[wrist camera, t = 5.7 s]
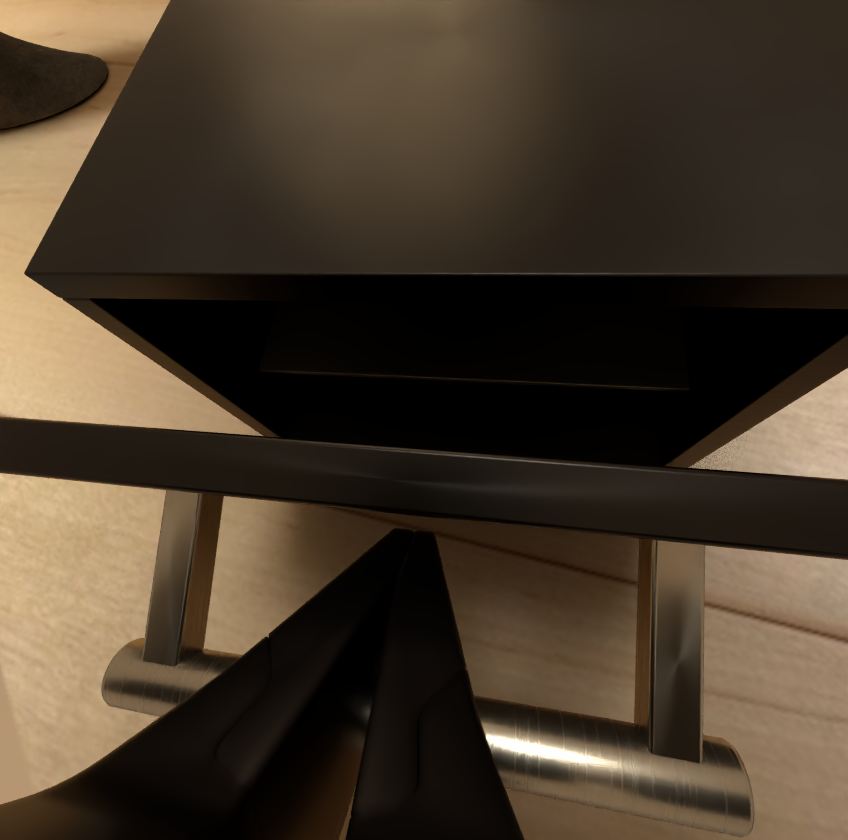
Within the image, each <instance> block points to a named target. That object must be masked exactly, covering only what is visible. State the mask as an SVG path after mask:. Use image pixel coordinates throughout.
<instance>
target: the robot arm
mask: <svg viewBox="0 0 848 840" xmlns="http://www.w3.org/2000/svg"><path fill="white" fill-rule="evenodd" d="M356 783H357V784H356ZM355 786H356V789H355ZM354 790H355V794H354V799H353V805H352V810H351V818H350V821H349V826H348V831H347V836H346V840H524V838H523V835H522V832H521V830H520V827H519V824H518V822H517V819H516V816H515V814H514V811H513V809H512V806H511V803H510V801H509V798H508V795H507V793H506V790H505V788H504V785H503V782H502V780H501V777H500V774H499V772H498V769H497V767H496V764H495V761H494V759H493V756H492V753H491V750H490V747H489V744H488V741H487V738H486V735H485V732H484V729H483V726H482V724H481V720H480V717H479V713H478V709H477V706H476V702H475V698H474V695H473V691H472V687H471V683H470V679H469V674H468V671H467V670H466V663H465V658H464V654H463V650H462V646H461V642H460V637H459V633H458V629H457V625H456V621H455V616H454V612H453V608H452V604H451V600H450V595H449V591H448V587H447V583H446V579H445V574H444V570H443V566H442V562H441V558H440V553H439V549H438V545H437V541H436V536H435V534H434V533H433V532H428V531H419V530H417V531H415V532H414V531H413V530H410V529H401V528H395V529H393V530H391V531H390V532H389V533H388V534H387V535H386V536H384V537H383V538H382V539H381V540H380V541H378V542H377V543H376V544H375V545H374V546H373V547H371V548H370V549H369V550H368V551H367V552H365V553H364V554H363V555H362V556H361V557H359V558H358V559H357V560H356V561H355V562H354V563H352V564H351V565H350V566H349V567H348V568H346V569H345V570H344V571H343V572H342V573H341V574H339V575H338V576H337V577H336V578H335V579H333V580H332V581H331V582H330V583H329V584H327V585H326V586H325V587H324V588H323V589H322V590H320V591H319V592H318V593H317V594H316V595H314V596H313V597H312V598H311V599H310V600H309V601H307V602H306V603H305V604H304V605H303V606H301V607H300V608H299V609H298V610H297V611H295V612H294V613H293V614H292V615H291V616H290V617H288V618H287V619H286V620H285V621H284V622H282V623H281V624H280V625H279V626H278V627H276V628H275V629H274V630H273V631H272V632H271V633H270V634H269V638H268V637H264V638H263V639H262V640H261V641H260V642H258V643H257V644H256V645H255V646H254V647H253V648H251V649H250V650H249V651H248V652H247V653H245V654H244V655H243V656H242V657H240V658H239V659H238V660H237V661H235V662H234V663H233V664H232V665H230V666H229V667H228V668H227V669H225V670H224V671H223V672H222V673H220V674H219V675H218V676H216V677H215V678H214V679H212V680H211V681H210V682H208V683H207V684H206V685H204V686H203V687H201V688H200V689H199V690H197V691H196V692H195V693H193V694H192V695H191V696H189V697H188V698H187V699H185V700H184V701H182V702H181V703H180V704H178V705H177V706H175V707H174V708H172V709H171V710H170V711H168V712H167V713H165V714H164V715H163V716H161V717H160V718H158V719H157V720H156V721H154V722H153V723H151V724H150V725H149V726H147V727H146V728H144V729H143V730H142V731H140V732H139V733H137V734H136V735H134V736H133V737H132V738H130V739H129V740H127V741H126V742H125V743H123V744H122V745H120V746H119V747H118V748H116V749H115V750H113V751H112V752H111V753H109V754H108V755H106V756H105V757H103V758H102V759H100V760H99V761H97V762H96V763H94V764H93V765H91V766H90V767H88V768H87V769H85V770H83V771H82V772H80V773H78V774H76V775H75V776H73V777H71V778H69V779H67V780H65V781H63V782H61V783H59V784H57V785H55V786H53V787H51V788H48V789H46V790H43V791H41V792H39V793H36V794H33V795H30V796H27V797H24V798H21V799H18V800H14V801H11V802H8V803H4V804H1V805H0V840H339V837H340V834H341V830H342V827H343V824H344V821H345V818H346V815H347V812H348V808H349V805H350V802H351V799H352V796H353V793H354Z"/></svg>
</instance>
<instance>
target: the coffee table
mask: <svg viewBox="0 0 848 840" xmlns="http://www.w3.org/2000/svg"><path fill="white" fill-rule="evenodd" d="M106 76H107V66H106V64H105V62H104V61H103V60H101V59H100V58H98V57H95V56H92V55H89V54H82V53H74V52H68V51H63V50H58V49H53V48H49V47H44V46H40V45H37V44H33V43H30V42H26V41H23V40H20V39H17V38H14V37H11V36H9V35H6V34H4V33H2V32H0V129H3V128H8V127H14V126H18V125H22V124H26V123H30V122H33V121H36V120H39V119H42V118H46V117H48V116H51V115H53V114H56V113H58V112H61V111H63V110H65V109H67V108H69V107H71V106H73V105H75V104H77V103H79V102H81V101H82V100H84V99H85V98H87V97H88V96H90V95H91V94H92V93H93V92H94V91H96V90H97V89H98V88H99V87H100V85H101V84H102V83H103V82H104V80H105V78H106Z"/></svg>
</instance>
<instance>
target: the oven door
mask: <svg viewBox="0 0 848 840" xmlns="http://www.w3.org/2000/svg"><path fill="white" fill-rule="evenodd" d="M0 473H6V474H15V475H25V476H35V477H45V478H54V479H64V480H74V481H84V482H93V483H103V484H113V485H123V486H132V487H142V488H152V489H162V490H166V496H165V503H164V510H163V517H162V523H161V530H160V537H159V544H158V551H157V558H156V564H155V571H154V578H153V585H152V592H151V598H150V605H149V612H148V619H147V626H146V633H145V638H140V639H136V640H134V641H131V642H129V643H128V644H126V645H125V646H124V647H122V648H121V649H120V650H119V652H118V653H117V654H116V655H115V656H114V658H113V659H112V661H111V662H110V664H109V666H108V668H107V670H106V672H105V675H104V678H103V682H102V697H103V699H104V701H105V702H106V703H107V704H108V705H109V706H111V707H115V708H120V709H125V710H130V711H135V712H140V713H144V714H149V715H154V716H159V717H161V716H163V715H164V714H165V713H167V712H168V711H170V710H171V709H172V708H174V707H175V706H177V705H178V704H180V703H181V702H182V701H184V700H185V699H187V698H188V697H189V696H191V695H192V694H193V693H195V692H196V691H197V690H199V689H200V688H201V687H203V686H204V685H206V684H207V683H208V682H210V681H211V680H212V679H214V678H215V677H216V676H218V675H219V674H220V673H222V672H223V671H224V670H225V669H227V668H228V667H229V666H230V665H232V664H233V663H234V662H235V661H237V660H238V659H239V658H240V657H242V656H243V655H237V654H232V653H226V652H220V651H214V650H208V649H204V641H205V634H206V626H207V619H208V611H209V604H210V596H211V588H212V581H213V573H214V566H215V558H216V551H217V543H218V535H219V528H220V520H221V513H222V505H223V497H224V496H230V497H240V498H249V499H259V500H269V501H278V502H288V503H298V504H308V505H317V506H327V507H337V508H347V509H356V510H366V511H376V512H386V513H395V514H405V515H415V516H425V517H434V518H444V519H454V520H464V521H473V522H483V523H493V524H503V525H512V526H522V527H532V528H542V529H551V530H561V531H571V532H581V533H590V534H600V535H610V536H620V537H629V538H639V559H638V597H637V634H636V671H635V708H634V723H631V722H625V721H619V720H613V719H608V718H602V717H596V716H590V715H585V714H579V713H573V712H567V711H561V710H556V709H550V708H544V707H538V706H532V705H527V704H521V703H515V702H509V701H504V700H498V699H492V698H486V697H480V696H475V695H474V698H475V702H476V706H477V709H478V713H479V717H480V720H481V724H482V726H483V729H484V732H485V735H486V738H487V741H488V744H489V747H490V750H491V753H492V756H493V759H494V761H495V764H496V767H497V769H498V772H499V774H500V777H501V780H502V782H503V785H504V788H505V789H510V790H515V791H520V792H524V793H529V794H534V795H539V796H544V797H549V798H553V799H558V800H563V801H568V802H573V803H577V804H582V805H587V806H592V807H597V808H601V809H606V810H611V811H616V812H621V813H625V814H630V815H635V816H640V817H645V818H650V819H654V820H659V821H664V822H669V823H674V824H678V825H683V826H688V827H693V828H698V829H702V830H707V831H712V832H717V833H722V834H727V835H731V836H736V837H744V836H747V835H749V834H750V832H751V831H752V828H753V824H754V802H753V795H752V790H751V785H750V781H749V778H748V775H747V772H746V769H745V766H744V764H743V762H742V760H741V757H740V756H739V754H738V752H737V751H736V749H735V748H734V747H733V746H732V745H731V744H730V743H729V742H727V741H726V740H724V739H722V738H718V737H712V736H706V735H703V672H704V576H705V545H707V546H717V547H727V548H737V549H746V550H756V551H766V552H776V553H785V554H795V555H805V556H815V557H824V558H834V559H844V560H848V480H844V479H831V478H818V477H804V476H791V475H777V474H764V473H750V472H737V471H723V470H710V469H697V468H683V467H670V466H656V465H643V464H629V463H616V462H603V461H589V460H576V459H562V458H549V457H535V456H522V455H509V454H495V453H482V452H468V451H455V450H441V449H428V448H415V447H401V446H388V445H374V444H361V443H347V442H334V441H321V440H307V439H294V438H280V437H267V436H253V435H240V434H226V433H213V432H200V431H186V430H173V429H159V428H146V427H132V426H119V425H106V424H92V423H79V422H65V421H52V420H38V419H25V418H12V417H0Z"/></svg>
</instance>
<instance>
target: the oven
mask: <svg viewBox="0 0 848 840" xmlns="http://www.w3.org/2000/svg"><path fill="white" fill-rule="evenodd" d="M24 274H25V275H26V276H28V277H29V278H31V279H32V280H34V281H35V282H37V283H38V284H40V285H41V286H43V287H44V288H46V289H47V290H49V291H50V292H51V293H53V294H54V295H56V296H57V297H60V298H62V299H63V300H64V301H66V302H67V303H69V304H70V305H72V306H73V307H74V308H76V309H77V310H79V311H80V312H82V313H83V314H85V315H86V316H88V317H89V318H91V319H92V320H94V321H95V322H97V323H98V324H100V325H101V326H102V327H104V328H105V329H107V330H108V331H110V332H111V333H113V334H114V335H116V336H117V337H119V338H120V339H122V340H123V341H125V342H126V343H128V344H129V345H130V346H132V347H133V348H135V349H136V350H138V351H139V352H141V353H142V354H144V355H145V356H147V357H148V358H150V359H151V360H153V361H154V362H156V363H157V364H158V365H160V366H161V367H163V368H164V369H166V370H167V371H169V372H170V373H172V374H173V375H175V376H176V377H178V378H179V379H181V380H182V381H184V382H185V383H186V384H188V385H189V386H191V387H192V388H194V389H195V390H197V391H198V392H200V393H201V394H203V395H204V396H206V397H207V398H209V399H210V400H212V401H213V402H215V403H216V404H217V405H219V406H220V407H222V408H223V409H225V410H226V411H228V412H229V413H231V414H232V415H234V416H235V417H237V418H238V419H240V420H241V421H243V422H244V423H245V424H247V425H248V426H250V427H251V428H253V429H254V430H256V431H257V432H259V433H260V434H262V435H263V436H267V437H280V438H294V439H307V440H321V441H334V442H347V443H361V444H374V445H388V446H401V447H415V448H428V449H441V450H455V451H468V452H482V453H495V454H509V455H522V456H535V457H549V458H562V459H576V460H589V461H603V462H616V463H629V464H643V465H656V466H670V467H683V468H688V467H690V466H692V465H693V464H695V463H696V462H698V461H700V460H701V459H703V458H704V457H706V456H708V455H709V454H711V453H712V452H714V451H715V450H717V449H719V448H720V447H722V446H723V445H725V444H727V443H728V442H730V441H731V440H733V439H735V438H736V437H738V436H739V435H741V434H743V433H744V432H746V431H747V430H749V429H751V428H752V427H754V426H755V425H757V424H759V423H760V422H762V421H763V420H765V419H767V418H768V417H770V416H771V415H773V414H775V413H776V412H778V411H779V410H781V409H783V408H784V407H786V406H787V405H789V404H791V403H792V402H794V401H795V400H797V399H799V398H800V397H802V396H803V395H805V394H807V393H808V392H810V391H811V390H813V389H815V388H816V387H818V386H819V385H821V384H823V383H824V382H826V381H827V380H829V379H831V378H832V377H834V376H835V375H837V374H839V373H840V372H842V371H843V370H845V369H847V368H848V0H171V1H170V2H169V4H168V6H167V8H166V10H165V12H164V14H163V15H162V17H161V19H160V21H159V23H158V25H157V27H156V28H155V30H154V32H153V34H152V36H151V38H150V40H149V41H148V43H147V45H146V47H145V49H144V51H143V53H142V55H141V56H140V58H139V60H138V62H137V64H136V66H135V68H134V69H133V71H132V73H131V75H130V77H129V79H128V81H127V82H126V84H125V86H124V88H123V90H122V92H121V94H120V95H119V97H118V99H117V101H116V103H115V105H114V107H113V108H112V110H111V112H110V114H109V116H108V118H107V120H106V122H105V123H104V125H103V127H102V129H101V131H100V133H99V135H98V136H97V138H96V140H95V142H94V144H93V146H92V148H91V149H90V151H89V153H88V155H87V157H86V159H85V161H84V162H83V164H82V166H81V168H80V170H79V172H78V174H77V175H76V177H75V179H74V181H73V183H72V185H71V187H70V189H69V190H68V192H67V194H66V196H65V198H64V200H63V202H62V203H61V205H60V207H59V209H58V211H57V213H56V215H55V216H54V218H53V220H52V222H51V224H50V226H49V228H48V229H47V231H46V233H45V235H44V237H43V239H42V241H41V242H40V244H39V246H38V248H37V250H36V252H35V254H34V256H33V257H32V259H31V261H30V263H29V265H28V267H27V269H26V270H25V273H24Z"/></svg>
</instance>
